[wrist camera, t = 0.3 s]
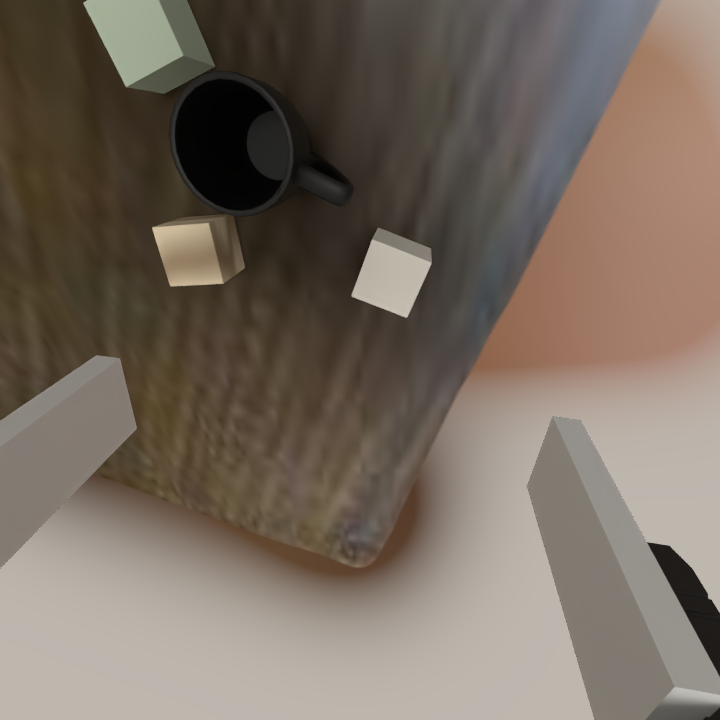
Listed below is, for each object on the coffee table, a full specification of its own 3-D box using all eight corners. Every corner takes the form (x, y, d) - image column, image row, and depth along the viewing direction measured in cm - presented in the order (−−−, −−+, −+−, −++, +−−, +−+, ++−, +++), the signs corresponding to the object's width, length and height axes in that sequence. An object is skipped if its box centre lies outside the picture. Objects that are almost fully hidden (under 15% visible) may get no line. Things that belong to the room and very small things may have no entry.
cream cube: (378, 227, 36) (372, 239, 32) (430, 248, 37) (432, 262, 32) (359, 278, 39) (351, 296, 35) (408, 298, 39) (407, 317, 35)
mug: (344, 234, 37) (321, 262, 29) (219, 173, 36) (157, 184, 28) (384, 139, 33) (370, 138, 25) (244, 68, 32) (181, 43, 24)
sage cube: (129, 21, 32) (83, 2, 27) (182, -11, 30) (142, -36, 26) (164, 93, 34) (126, 87, 29) (215, 66, 32) (183, 55, 28)
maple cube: (182, 217, 38) (151, 227, 34) (233, 213, 38) (208, 222, 33) (197, 270, 41) (170, 286, 36) (245, 267, 40) (223, 283, 36)
